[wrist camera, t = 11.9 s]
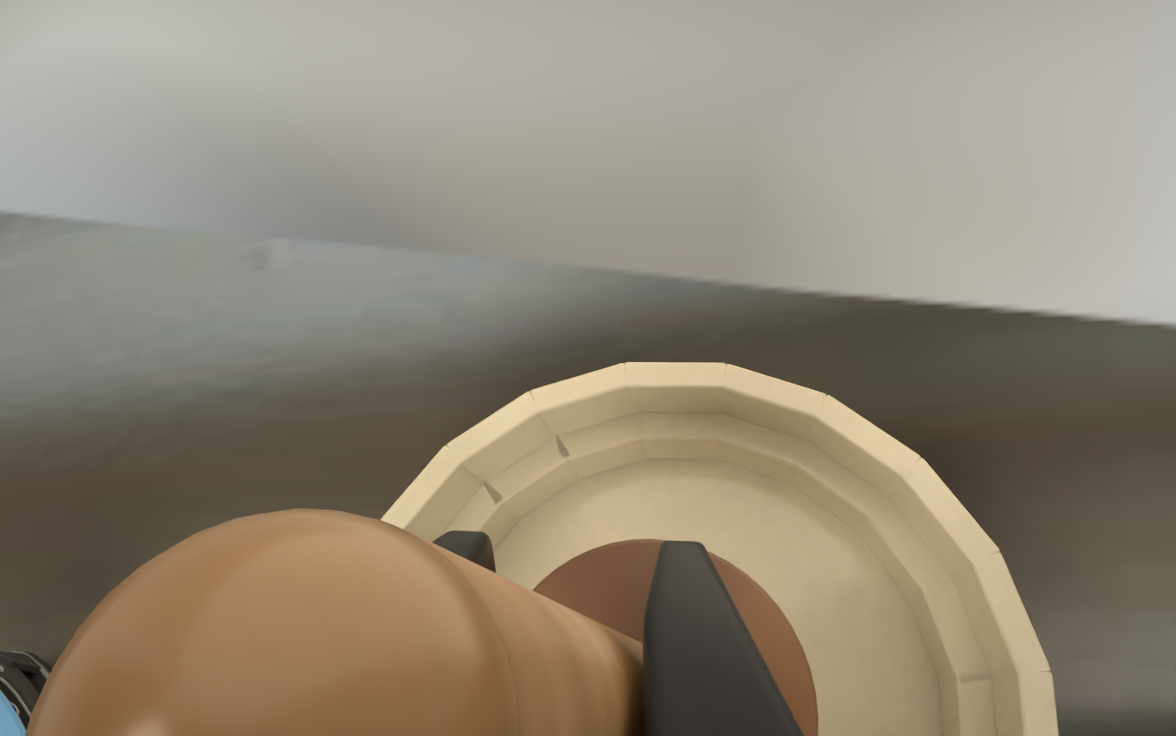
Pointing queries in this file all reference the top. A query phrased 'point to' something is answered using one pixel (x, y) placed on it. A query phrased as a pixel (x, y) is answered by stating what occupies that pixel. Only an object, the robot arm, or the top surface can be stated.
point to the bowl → (762, 532)
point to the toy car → (19, 689)
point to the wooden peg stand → (375, 640)
